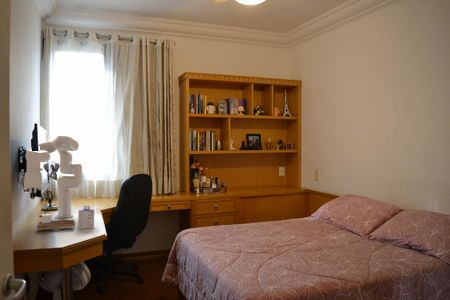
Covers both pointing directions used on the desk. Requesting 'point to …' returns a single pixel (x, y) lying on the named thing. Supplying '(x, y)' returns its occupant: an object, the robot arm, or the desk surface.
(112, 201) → the desk surface
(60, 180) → the robot arm
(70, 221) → the beam
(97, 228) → the desk surface
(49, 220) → the rider
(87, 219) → the ink cartridge box
